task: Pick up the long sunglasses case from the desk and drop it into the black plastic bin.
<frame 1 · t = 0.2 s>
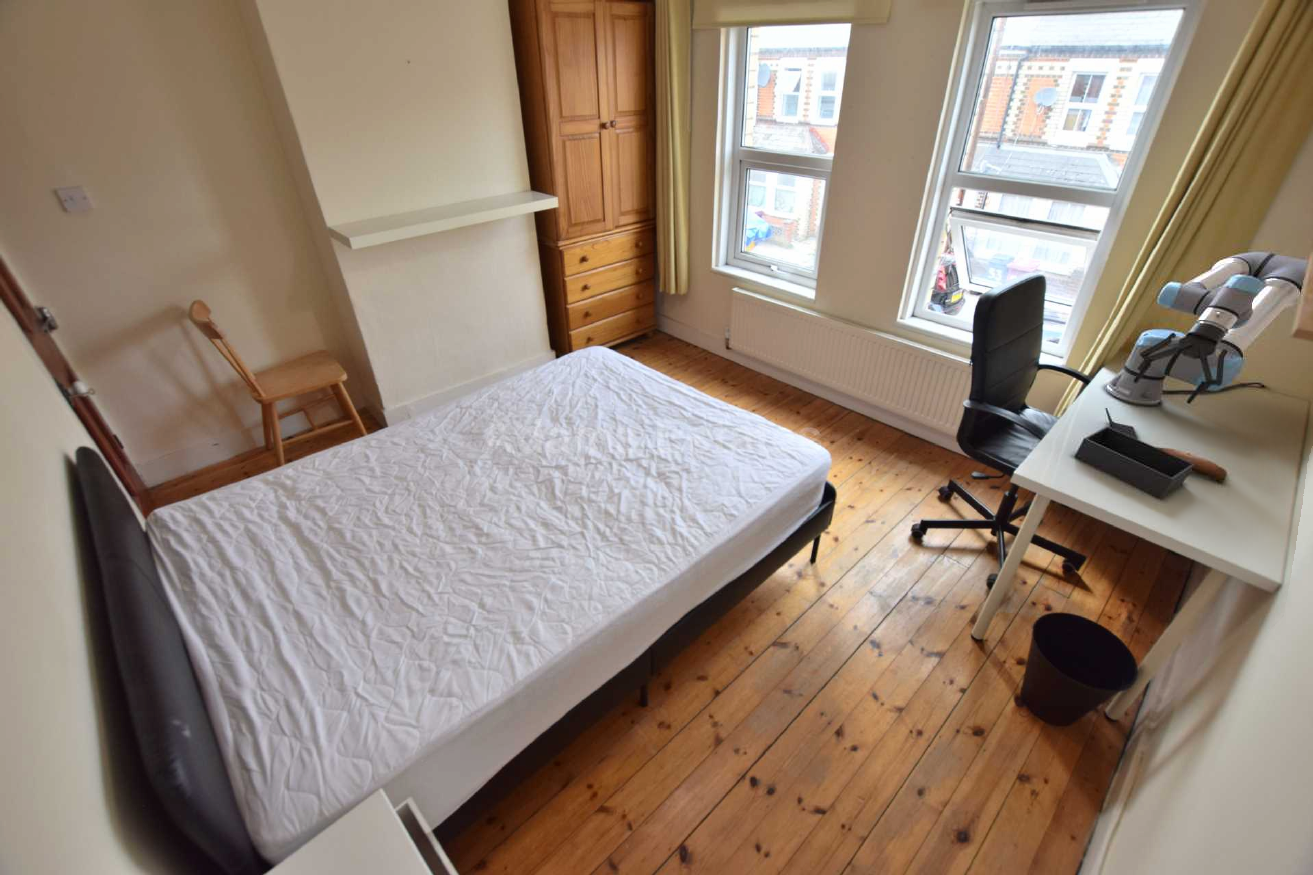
hand: (1161, 391, 169), 16 cm above the table, tool tilted 35°, fingers open, 13 cm apart
bin: (1126, 470, 163), on the table
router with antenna: (1116, 434, 179), on the table
sunglasses case: (1181, 465, 165), on the table
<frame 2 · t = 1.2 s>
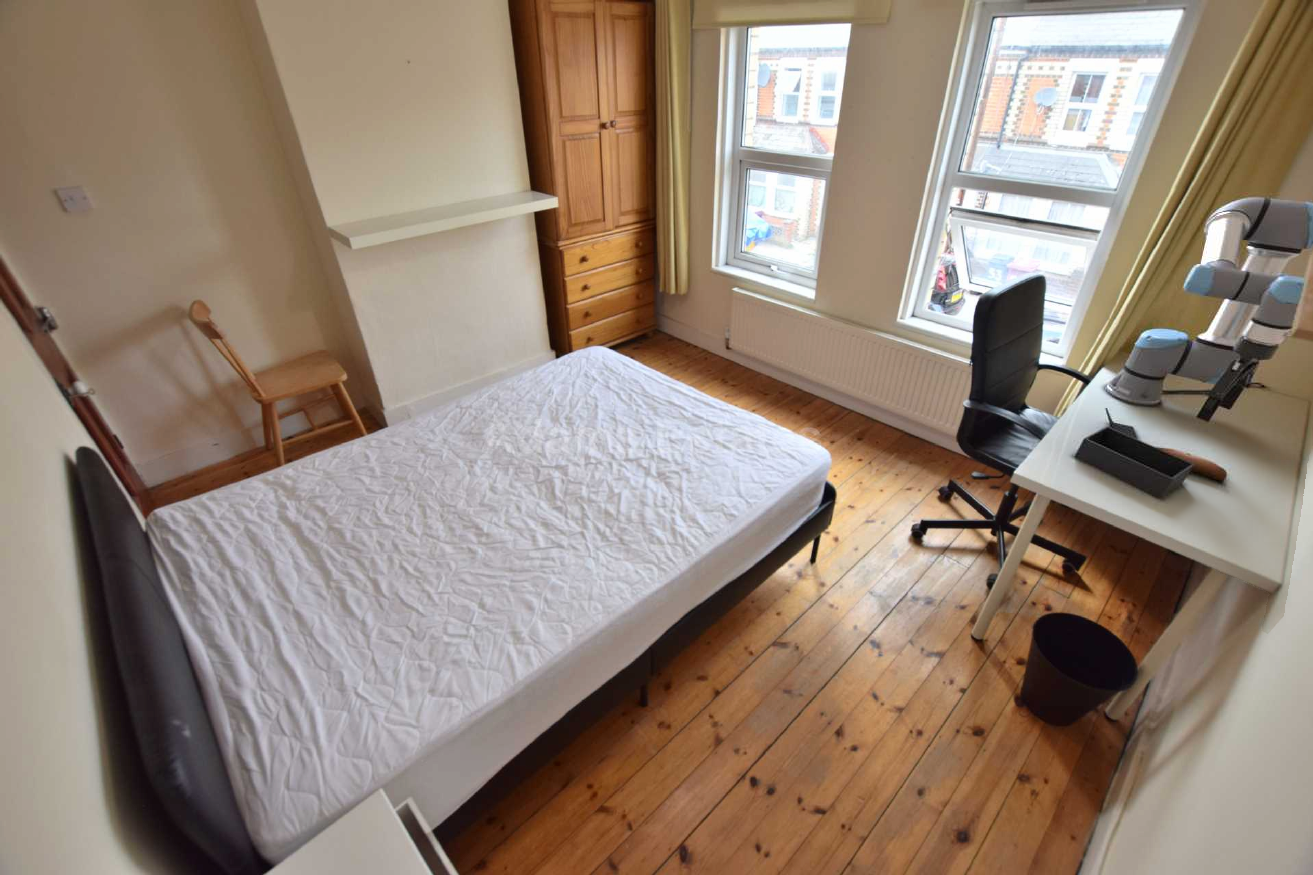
hand: (1213, 413, 156), 17 cm above the table, tool pointing down, fingers open, 13 cm apart
nothing on the table moved.
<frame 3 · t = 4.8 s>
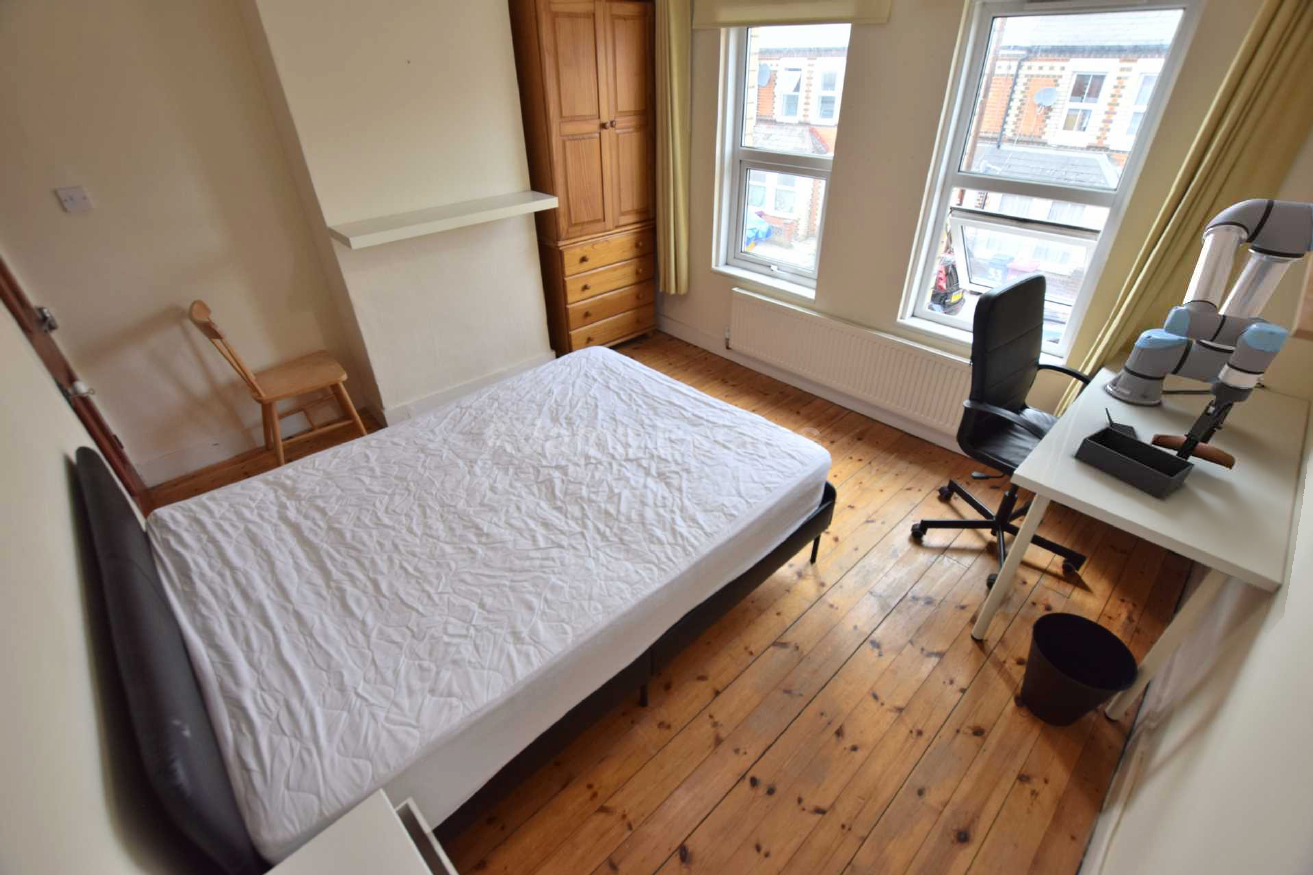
hand: (1189, 452, 163), 4 cm above the table, tool pointing down, fingers closed on sunglasses case, 9 cm apart
sunglasses case: (1188, 453, 163), point 4 cm above the table, touching gripper
everything else where it was.
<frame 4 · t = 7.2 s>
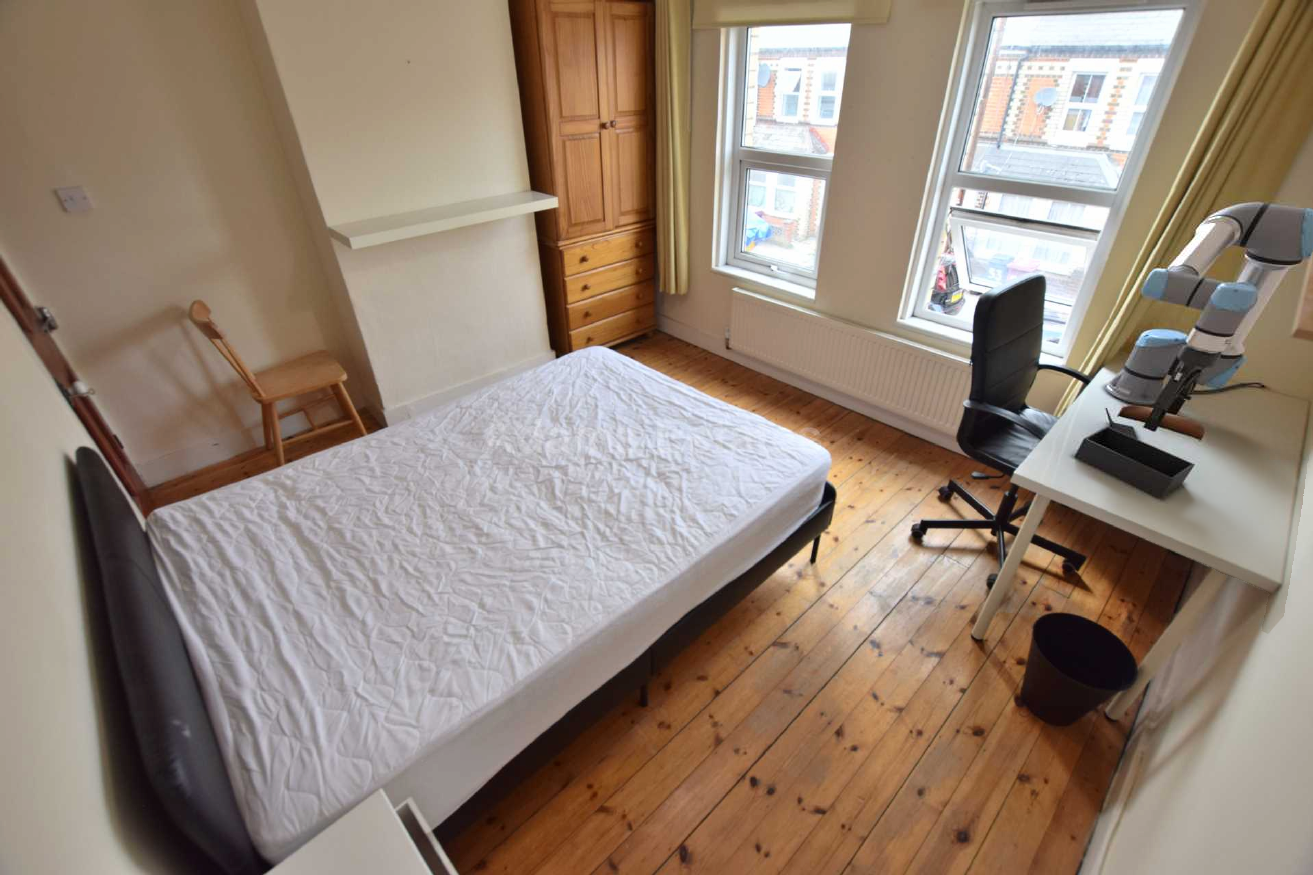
hand: (1158, 424, 154), 15 cm above the table, tool pointing down, fingers closed on sunglasses case, 9 cm apart
sunglasses case: (1157, 425, 155), point 15 cm above the table, touching gripper
everything else where it was.
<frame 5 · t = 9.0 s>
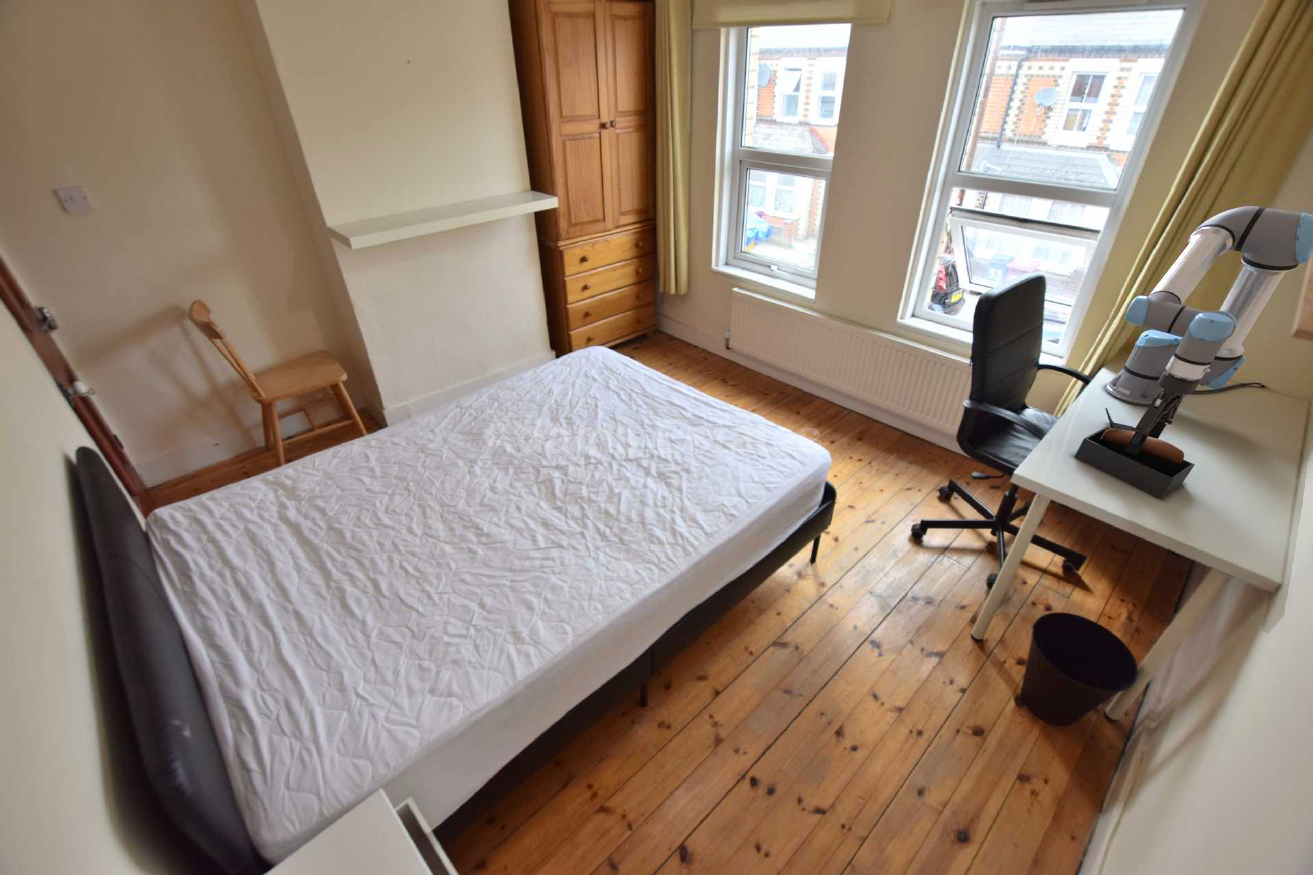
hand: (1140, 447, 158), 8 cm above the table, tool pointing down, fingers closed on sunglasses case, 9 cm apart
sunglasses case: (1139, 448, 159), point 7 cm above the table, touching gripper
everything else where it was.
when the fingers open (7 cm above the table, at t = 9.8 s): sunglasses case drops 6 cm, resting on bin.
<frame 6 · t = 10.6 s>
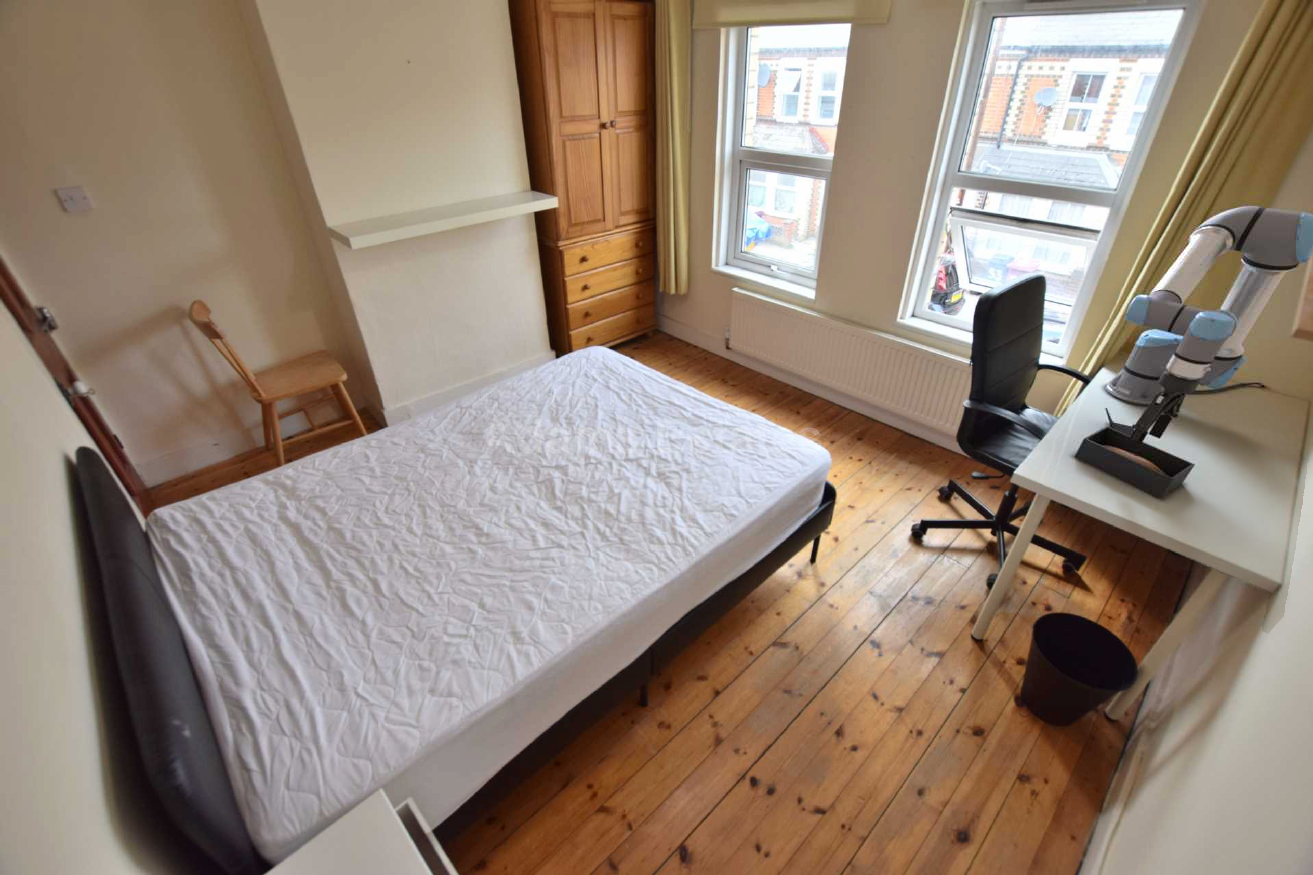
hand: (1142, 442, 158), 9 cm above the table, tool pointing down, fingers open, 13 cm apart
sunglasses case: (1125, 466, 164), resting on bin
everything else where it was.
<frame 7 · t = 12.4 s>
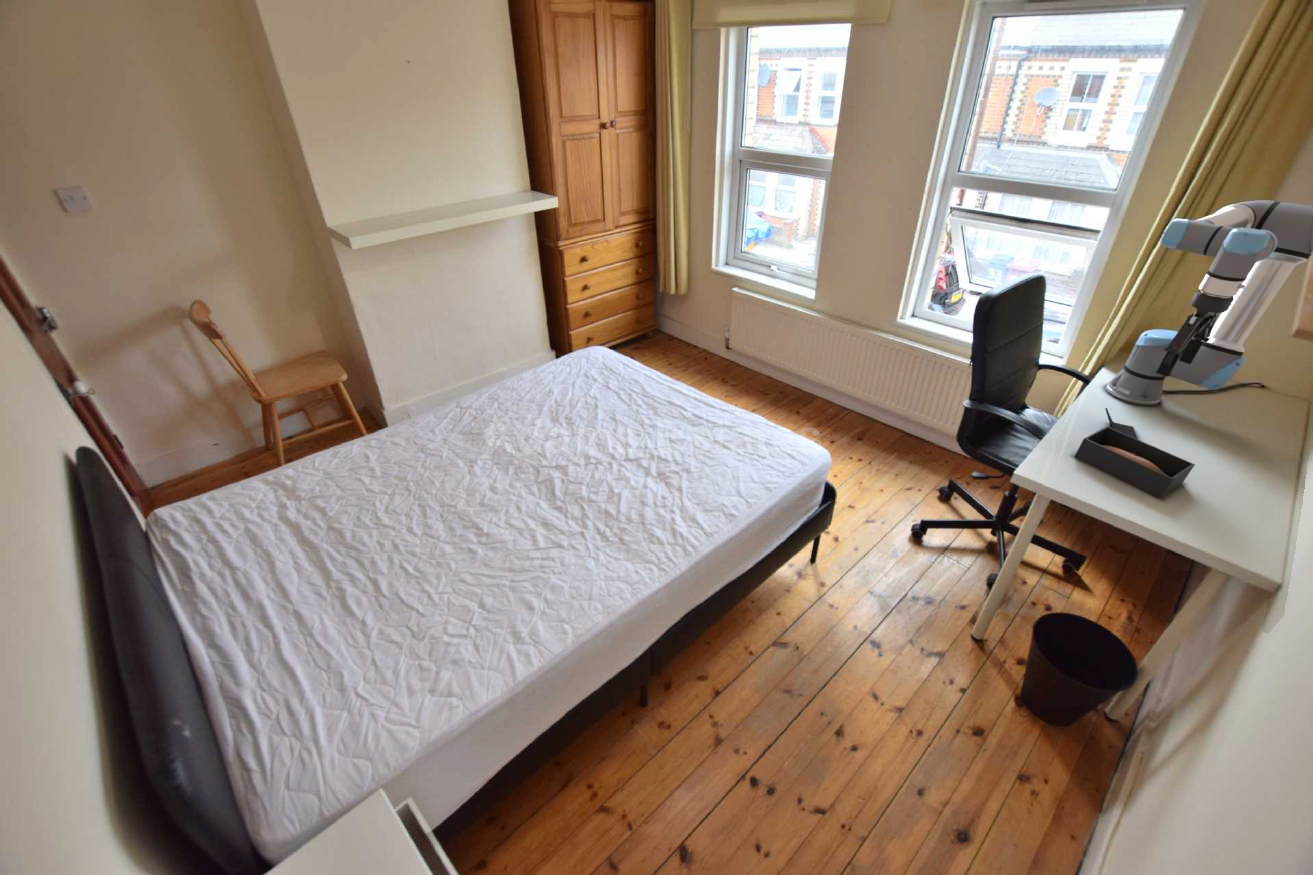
hand: (1173, 368, 158), 26 cm above the table, tool pointing down, fingers open, 13 cm apart
nothing on the table moved.
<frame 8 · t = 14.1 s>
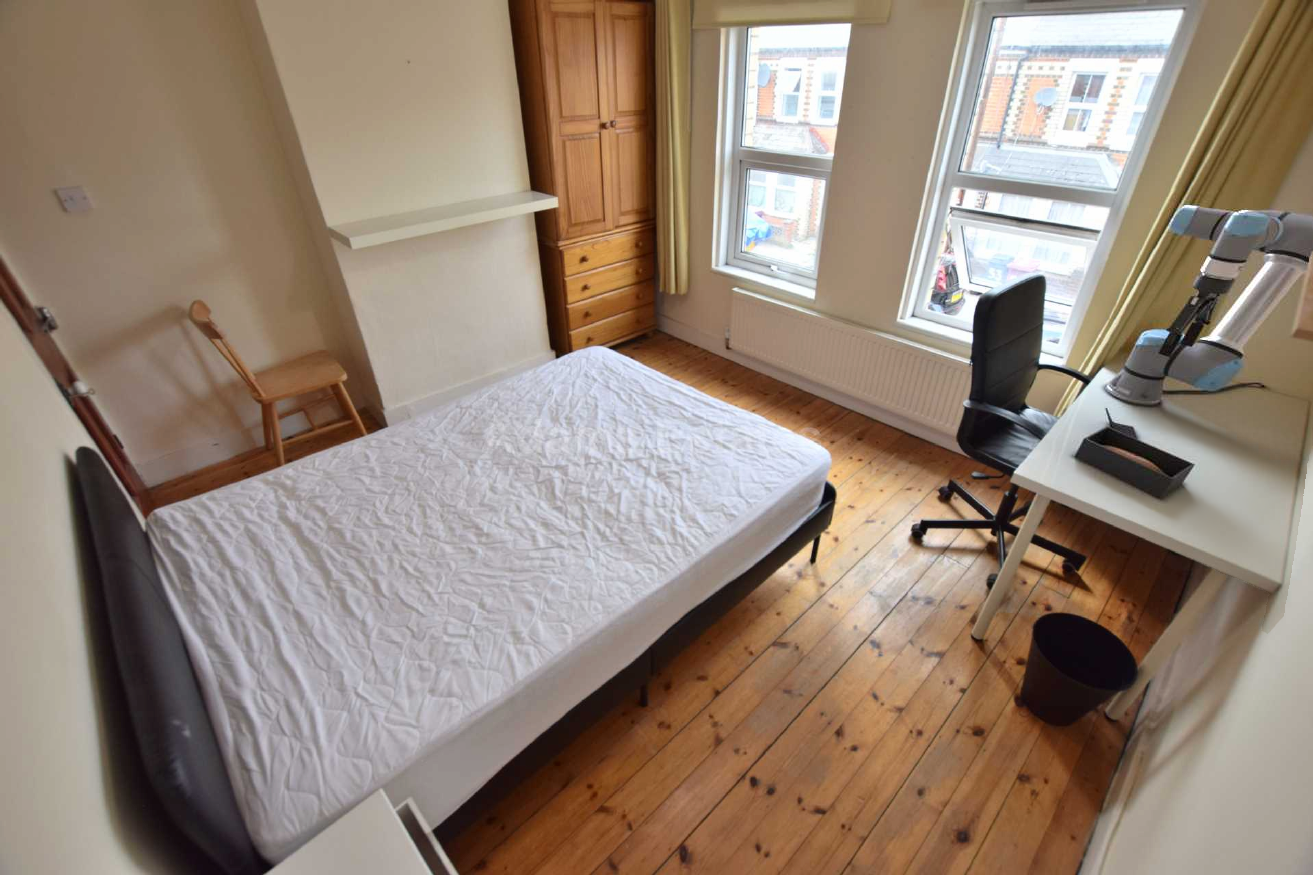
hand: (1175, 350, 162), 29 cm above the table, tool pointing down, fingers open, 13 cm apart
nothing on the table moved.
at the end: sunglasses case inside the target area in the bin (1.3 cm from its centre), point 0.4 cm above the bin's base; the gripper is holding nothing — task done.
